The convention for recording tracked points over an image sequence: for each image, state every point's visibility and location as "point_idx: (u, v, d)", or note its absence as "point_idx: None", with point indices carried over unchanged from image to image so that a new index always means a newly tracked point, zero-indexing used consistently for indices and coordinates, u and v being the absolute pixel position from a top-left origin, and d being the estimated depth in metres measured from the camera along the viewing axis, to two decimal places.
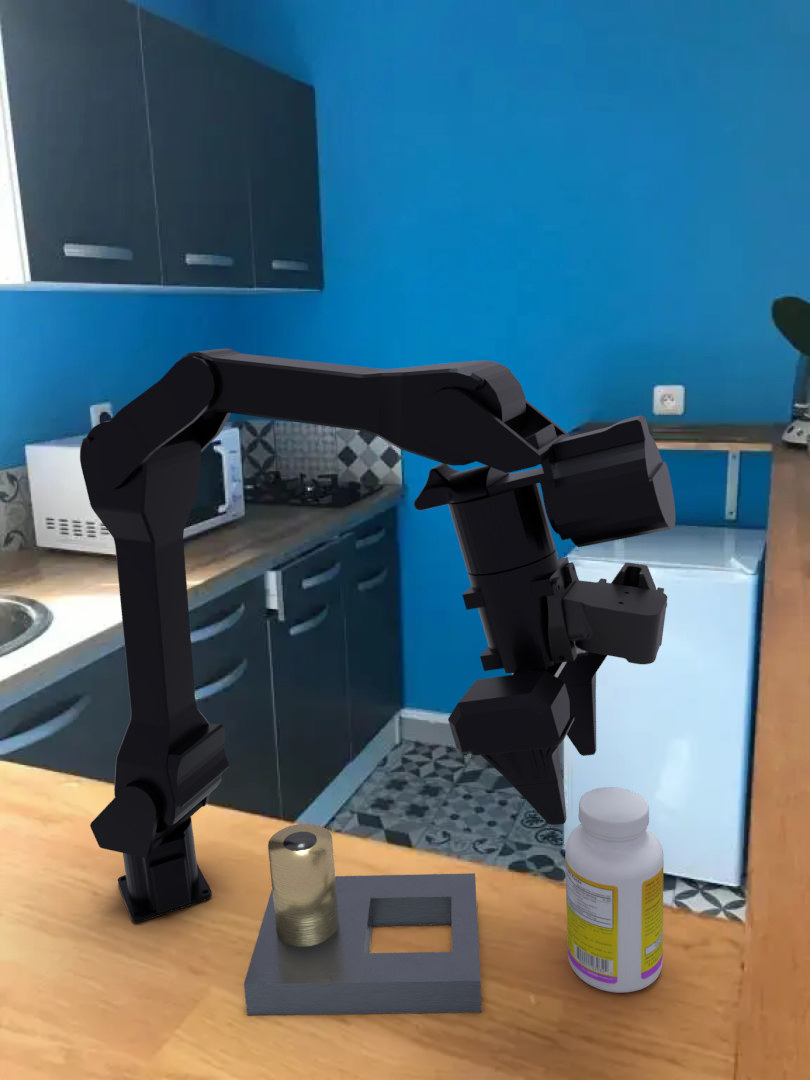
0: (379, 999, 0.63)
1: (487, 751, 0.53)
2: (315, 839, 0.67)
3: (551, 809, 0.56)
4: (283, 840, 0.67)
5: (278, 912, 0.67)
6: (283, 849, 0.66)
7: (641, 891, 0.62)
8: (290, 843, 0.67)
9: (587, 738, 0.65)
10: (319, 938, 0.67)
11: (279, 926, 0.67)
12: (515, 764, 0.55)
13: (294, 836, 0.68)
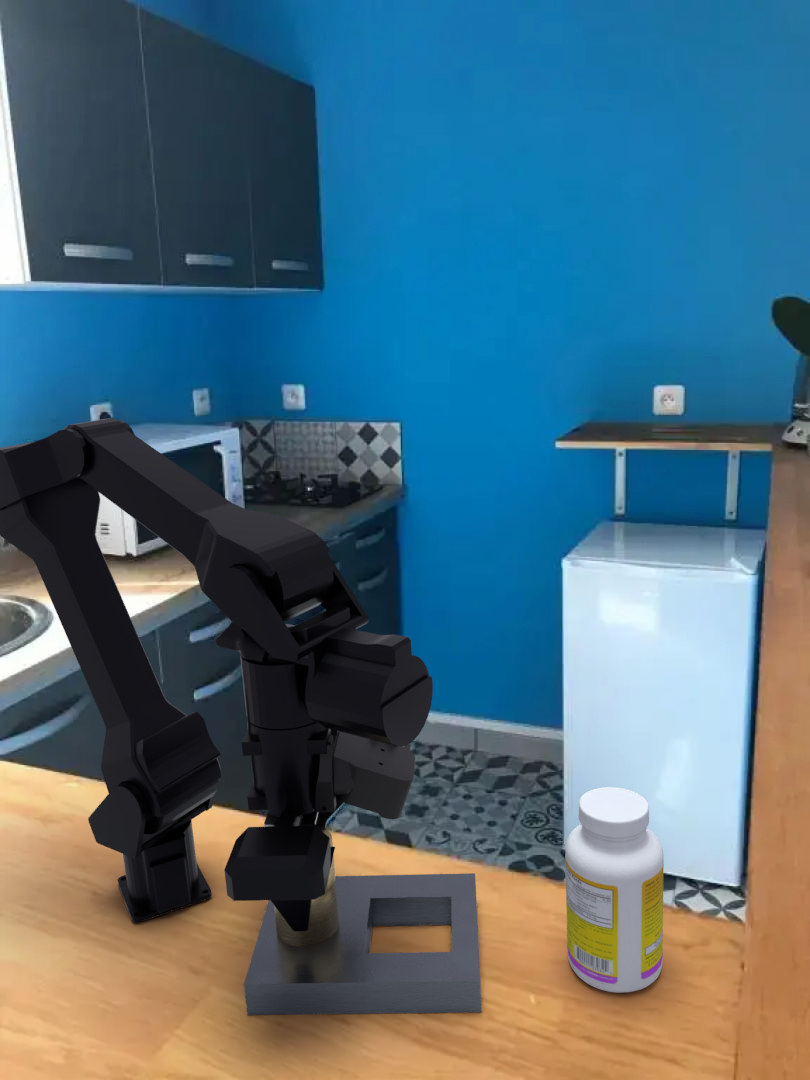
0: (379, 999, 0.63)
1: None
2: None
3: (299, 919, 0.65)
4: None
5: (278, 912, 0.67)
6: None
7: (641, 891, 0.62)
8: None
9: None
10: (319, 938, 0.67)
11: (279, 926, 0.67)
12: None
13: None
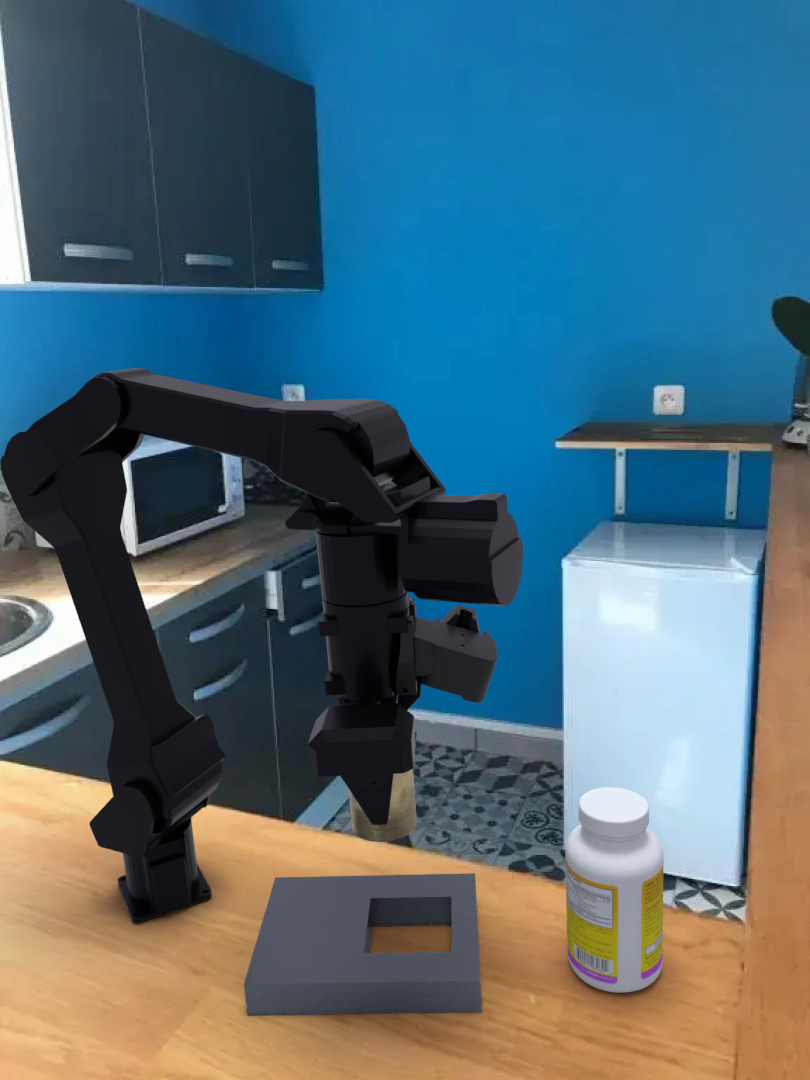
0: (379, 999, 0.63)
1: None
2: None
3: (378, 811, 0.63)
4: None
5: (355, 806, 0.64)
6: None
7: (641, 891, 0.62)
8: None
9: None
10: (399, 833, 0.64)
11: (356, 822, 0.65)
12: None
13: None
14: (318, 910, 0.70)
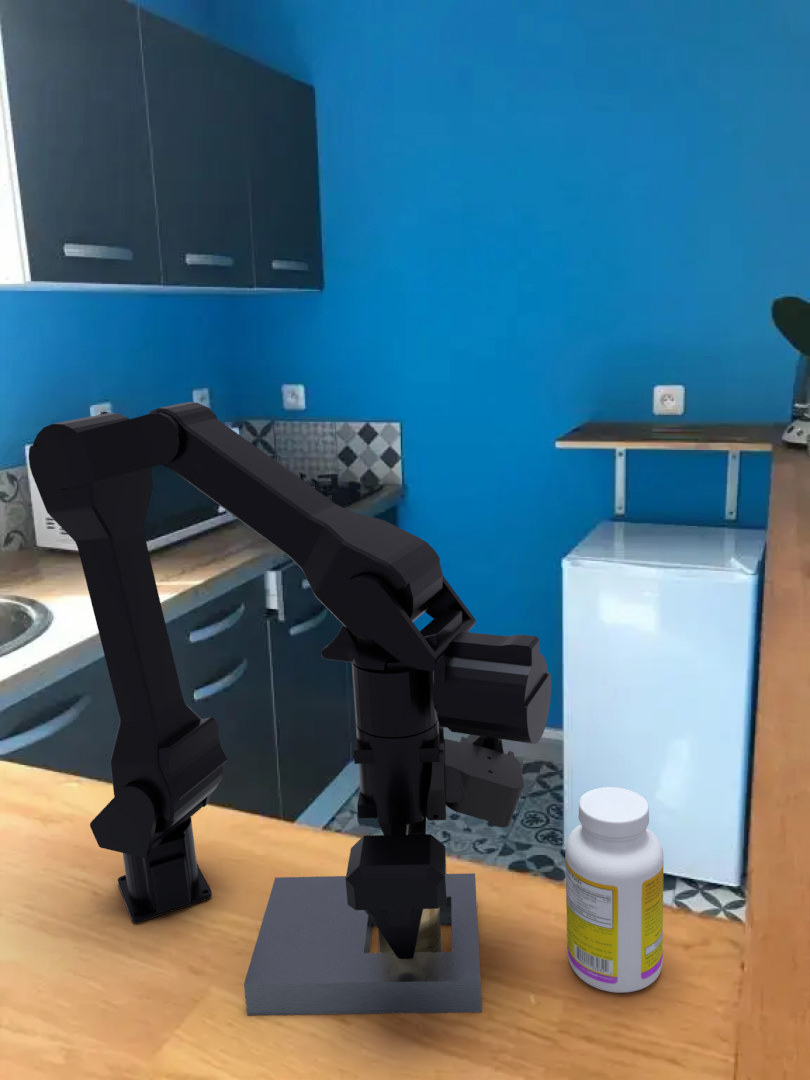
0: (379, 999, 0.63)
1: None
2: None
3: (405, 947, 0.63)
4: None
5: (385, 941, 0.67)
6: None
7: (641, 891, 0.62)
8: None
9: None
10: None
11: None
12: (385, 910, 0.61)
13: None
14: (318, 910, 0.70)
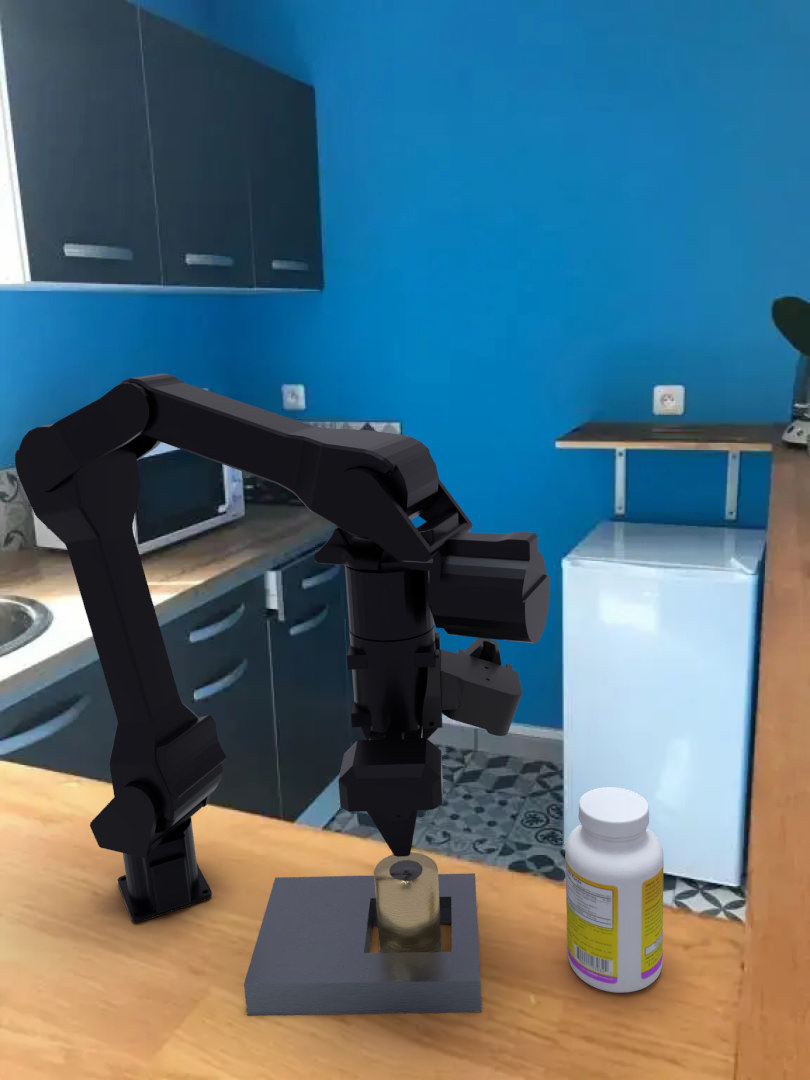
0: (379, 999, 0.63)
1: None
2: (421, 868, 0.67)
3: (401, 843, 0.63)
4: (389, 869, 0.67)
5: (385, 941, 0.67)
6: (391, 879, 0.66)
7: (641, 891, 0.62)
8: (396, 872, 0.67)
9: None
10: None
11: None
12: None
13: (398, 864, 0.68)
14: (318, 910, 0.70)
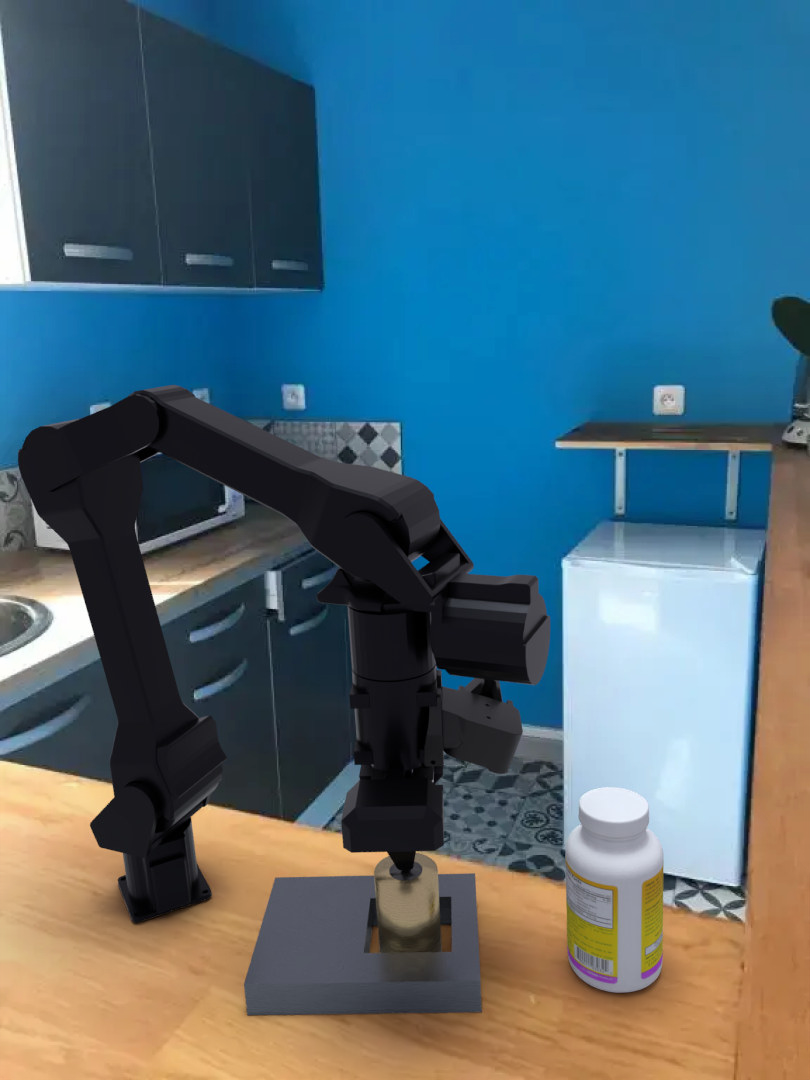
0: (379, 999, 0.63)
1: None
2: (421, 868, 0.67)
3: (405, 858, 0.66)
4: (389, 869, 0.67)
5: (385, 941, 0.67)
6: (390, 879, 0.66)
7: (641, 891, 0.62)
8: (396, 872, 0.67)
9: None
10: None
11: None
12: None
13: None
14: (318, 910, 0.70)
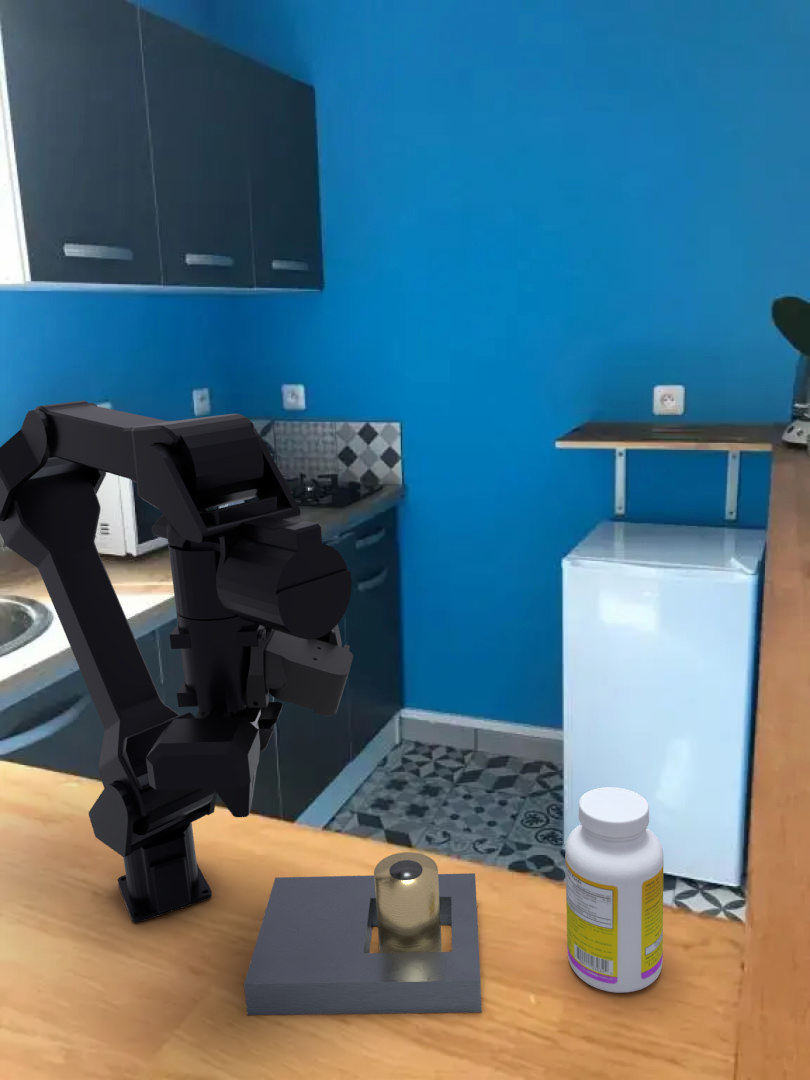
0: (379, 999, 0.63)
1: None
2: (421, 868, 0.67)
3: (239, 804, 0.65)
4: (389, 869, 0.67)
5: (385, 941, 0.67)
6: (391, 879, 0.66)
7: (641, 891, 0.62)
8: (396, 872, 0.67)
9: None
10: None
11: None
12: None
13: (398, 865, 0.68)
14: (318, 910, 0.70)
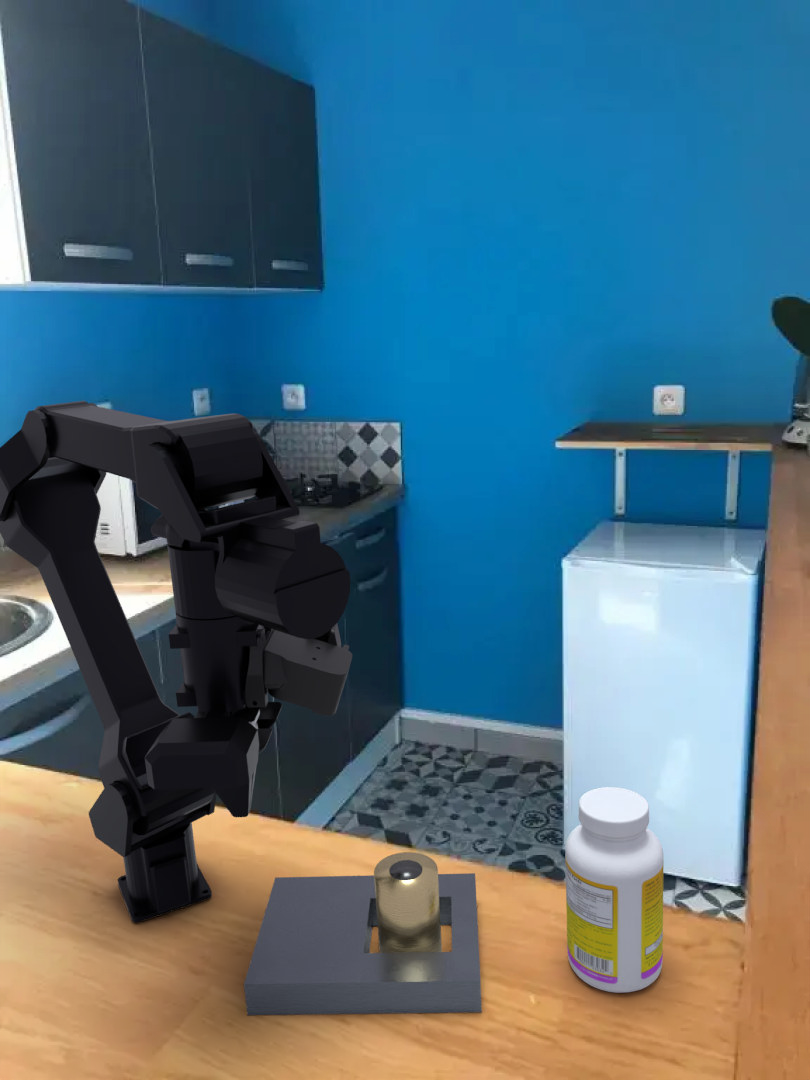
0: (379, 999, 0.63)
1: None
2: (421, 867, 0.68)
3: (238, 804, 0.65)
4: (389, 869, 0.67)
5: (385, 941, 0.67)
6: (390, 879, 0.66)
7: (641, 891, 0.62)
8: (396, 872, 0.67)
9: None
10: None
11: None
12: None
13: (398, 864, 0.68)
14: (318, 910, 0.70)
